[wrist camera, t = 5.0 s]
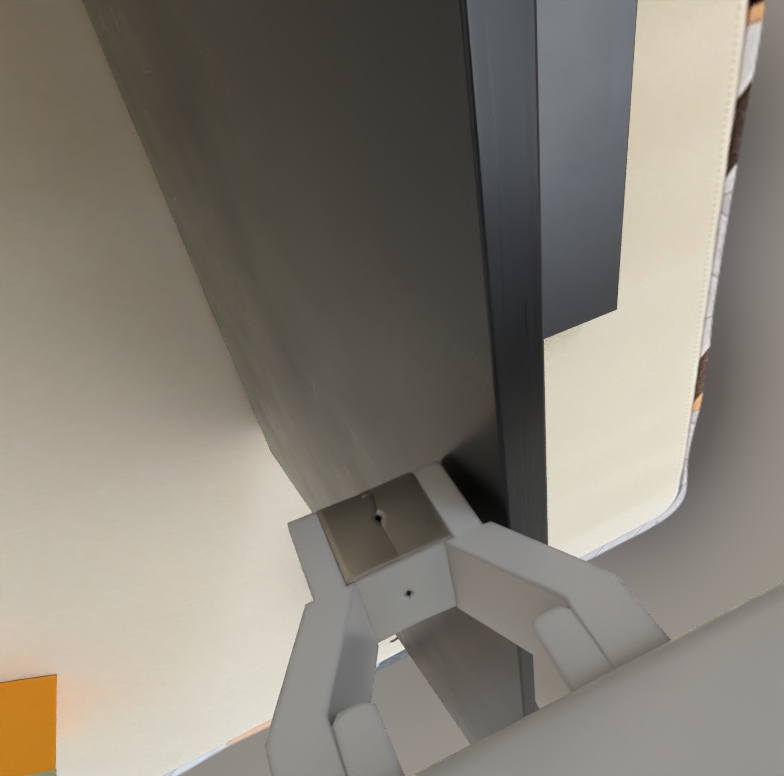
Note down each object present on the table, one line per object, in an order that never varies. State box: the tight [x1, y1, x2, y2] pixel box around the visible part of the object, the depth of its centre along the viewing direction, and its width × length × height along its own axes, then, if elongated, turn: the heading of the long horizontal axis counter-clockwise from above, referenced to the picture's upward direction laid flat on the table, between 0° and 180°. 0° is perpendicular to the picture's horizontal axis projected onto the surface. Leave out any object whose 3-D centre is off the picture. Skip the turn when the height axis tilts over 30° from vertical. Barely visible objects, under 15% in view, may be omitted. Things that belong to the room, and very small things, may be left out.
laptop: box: [536, 0, 638, 339], centre depth 28 cm, size 21×30×2 cm
